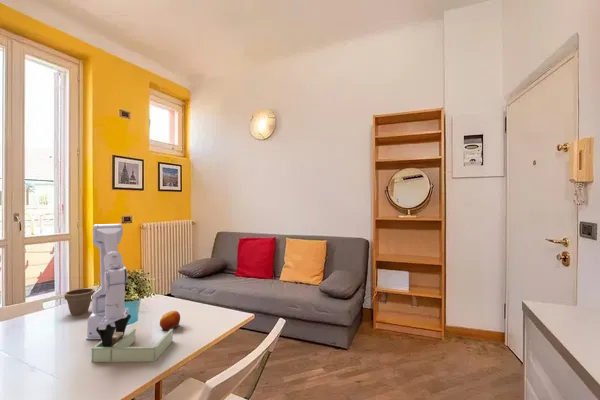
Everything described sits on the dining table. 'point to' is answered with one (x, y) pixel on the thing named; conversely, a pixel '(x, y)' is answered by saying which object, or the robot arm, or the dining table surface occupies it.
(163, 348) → the divider frame
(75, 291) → the flower pot
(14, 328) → the dining table surface
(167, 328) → the fruit
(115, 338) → the walnut box
